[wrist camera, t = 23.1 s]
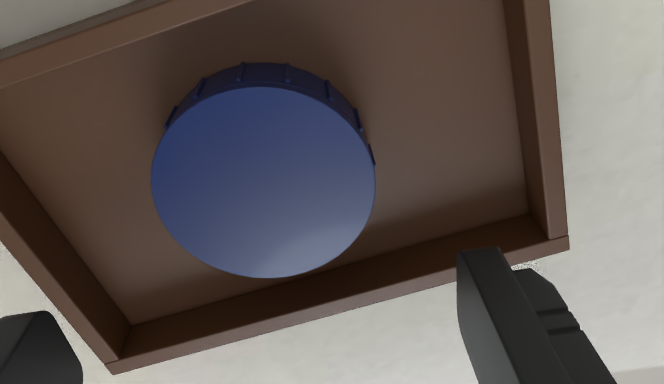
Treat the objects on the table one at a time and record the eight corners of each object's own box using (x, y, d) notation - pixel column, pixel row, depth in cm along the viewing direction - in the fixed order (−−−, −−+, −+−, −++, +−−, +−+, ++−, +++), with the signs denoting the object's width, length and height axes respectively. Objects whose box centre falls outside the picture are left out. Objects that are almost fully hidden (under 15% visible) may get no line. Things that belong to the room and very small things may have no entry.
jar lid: (150, 58, 13) (131, 82, 12) (376, 63, 14) (387, 87, 12) (177, 241, 16) (164, 280, 15) (360, 240, 17) (368, 278, 15)
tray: (542, 211, 17) (570, 250, 15) (129, 328, 19) (112, 376, 17) (503, -131, 12) (540, -132, 10) (-65, 72, 14) (-119, 101, 12)
